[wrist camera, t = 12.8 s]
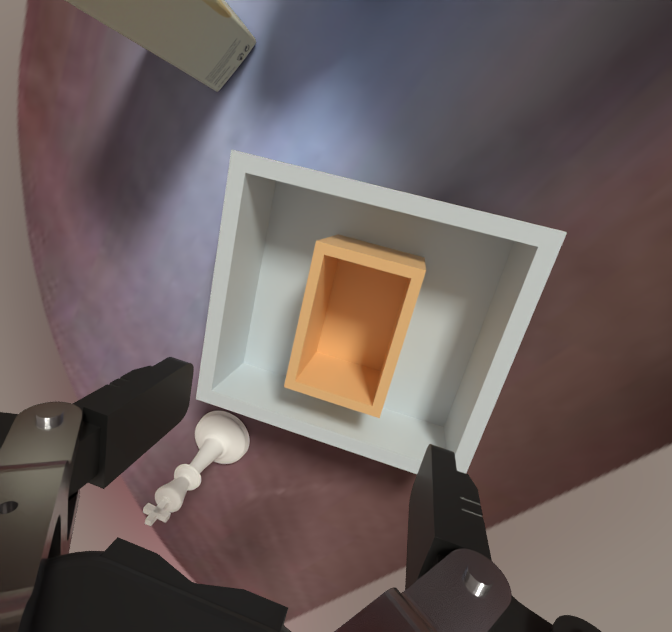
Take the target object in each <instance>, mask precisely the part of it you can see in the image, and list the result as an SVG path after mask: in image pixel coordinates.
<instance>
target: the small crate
mask: <svg viewBox="0 0 672 632" xmlns="http://www.w3.org/2000/svg"><path fill="white" fill-rule="evenodd" d="M425 273H426V265H425V258H424V257H421V256H417V255H414V254H410V253H406V252H402V251H398V250H395V249H391V248H387V247H383V246H380V245H376V244H372V243H368V242H365V241H361V240H357V239H353V238H350V237H346V236H342V235H334V236H331V237H327V238H324V239H320V240H317V241H316V243H315V248H314V252H313V257H312V261H311V266H310V270H309V275H308V279H307V284H306V288H305V293H304V298H303V302H302V307H301V311H300V316H299V320H298V325H297V329H296V334H295V338H294V343H293V348H292V352H291V357H290V361H289V366H288V370H287V375H286V379H285V384H284V387H285V388H288V389H291V390H294V391H297V392H300V393H303V394H306V395H309V396H312V397H316V398H319V399H322V400H325V401H328V402H331V403H334V404H337V405H340V406H343V407H346V408H349V409H352V410H355V411H359V412H362V413H365V414H368V415H371V416H374V417H377V418H380V415H381V412H382V409H383V406H384V403H385V400H386V396H387V393H388V390H389V387H390V384H391V381H392V377H393V374H394V371H395V368H396V365H397V362H398V358H399V355H400V352H401V349H402V346H403V343H404V339H405V336H406V333H407V330H408V327H409V324H410V320H411V317H412V314H413V311H414V308H415V305H416V301H417V298H418V295H419V292H420V289H421V286H422V282H423V279H424V276H425Z"/></svg>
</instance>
